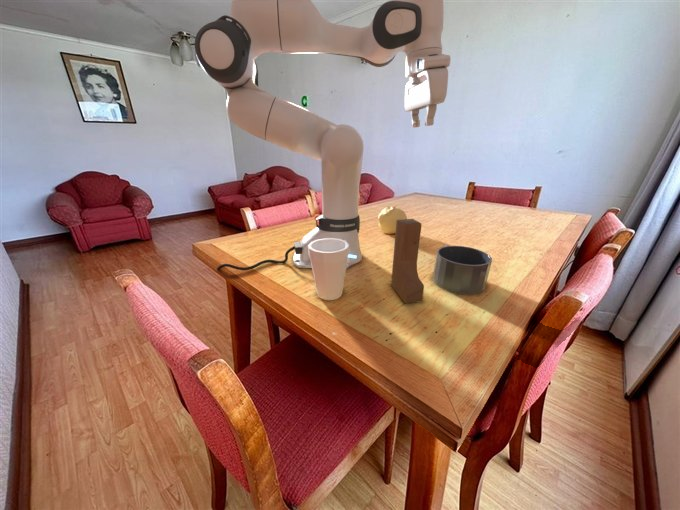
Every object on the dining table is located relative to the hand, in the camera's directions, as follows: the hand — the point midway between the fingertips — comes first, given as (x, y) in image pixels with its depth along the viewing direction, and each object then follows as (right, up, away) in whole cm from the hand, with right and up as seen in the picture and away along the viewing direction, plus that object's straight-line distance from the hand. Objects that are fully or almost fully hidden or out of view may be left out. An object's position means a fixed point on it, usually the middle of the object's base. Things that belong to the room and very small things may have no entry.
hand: (422, 126), depth 74 cm
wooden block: (-6, -46, -7) cm, 47 cm away
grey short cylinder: (+9, -42, -1) cm, 43 cm away
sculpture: (-1, -26, +37) cm, 46 cm away
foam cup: (-26, -46, -7) cm, 53 cm away
